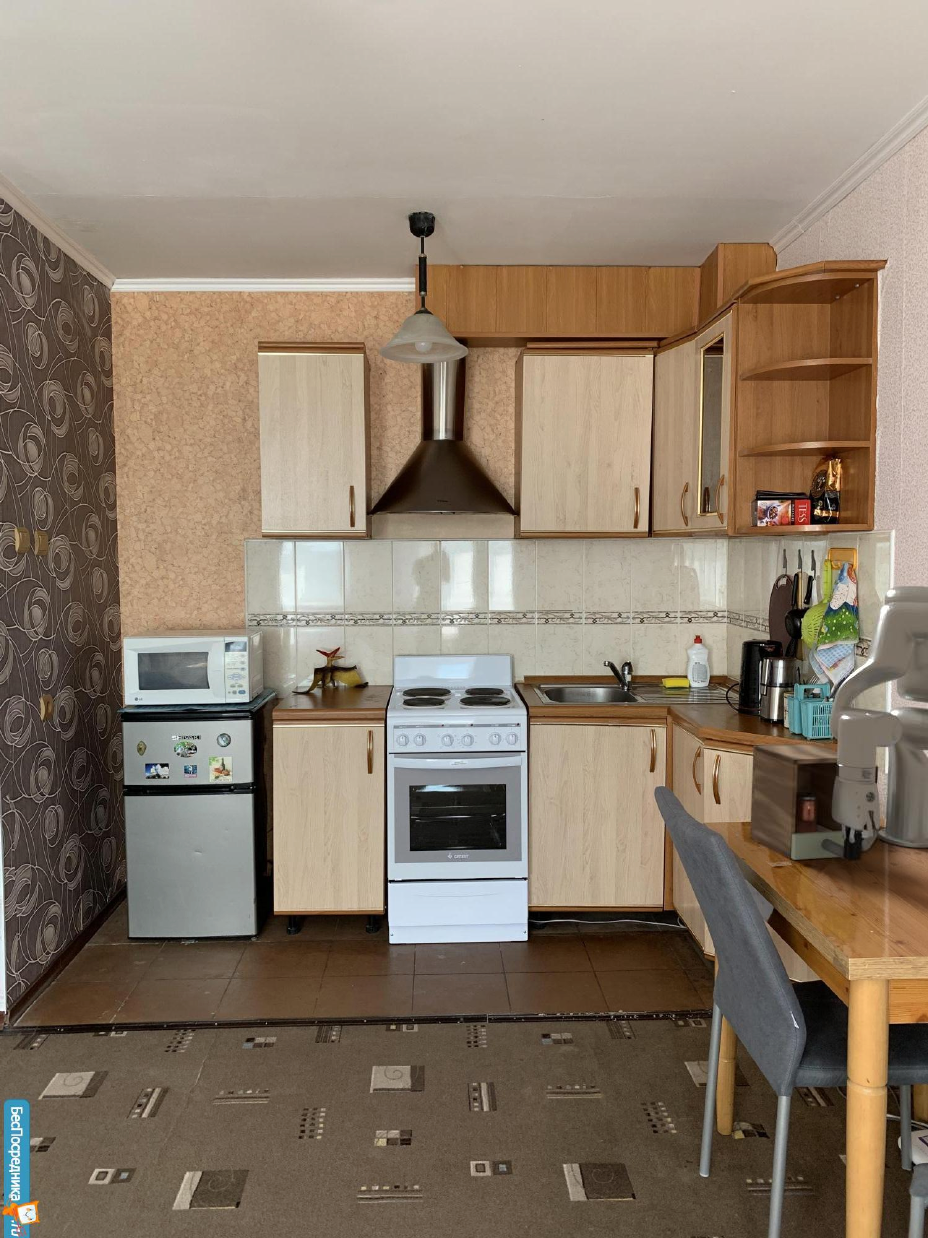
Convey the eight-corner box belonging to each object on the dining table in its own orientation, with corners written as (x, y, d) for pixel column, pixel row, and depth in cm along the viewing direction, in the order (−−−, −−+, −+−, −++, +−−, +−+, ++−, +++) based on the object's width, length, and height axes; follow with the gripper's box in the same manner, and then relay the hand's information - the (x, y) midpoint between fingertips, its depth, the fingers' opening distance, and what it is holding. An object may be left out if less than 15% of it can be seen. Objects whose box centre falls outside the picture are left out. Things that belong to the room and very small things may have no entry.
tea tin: (821, 841, 208) (822, 797, 208) (799, 842, 207) (800, 797, 207) (808, 834, 214) (810, 791, 213) (787, 835, 213) (788, 792, 212)
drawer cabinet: (809, 834, 222) (813, 743, 220) (853, 854, 206) (857, 757, 205) (750, 838, 218) (753, 745, 217) (789, 858, 202) (793, 759, 201)
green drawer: (812, 835, 220) (813, 812, 220) (877, 865, 198) (878, 840, 198) (753, 838, 217) (754, 816, 216) (813, 870, 194) (814, 844, 194)
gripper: (896, 780, 187) (892, 869, 188) (848, 765, 201) (844, 848, 202) (864, 782, 185) (860, 872, 186) (818, 766, 200) (814, 850, 201)
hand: (852, 859), depth 194 cm, fingers closed
